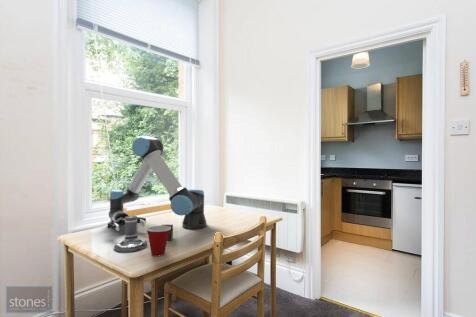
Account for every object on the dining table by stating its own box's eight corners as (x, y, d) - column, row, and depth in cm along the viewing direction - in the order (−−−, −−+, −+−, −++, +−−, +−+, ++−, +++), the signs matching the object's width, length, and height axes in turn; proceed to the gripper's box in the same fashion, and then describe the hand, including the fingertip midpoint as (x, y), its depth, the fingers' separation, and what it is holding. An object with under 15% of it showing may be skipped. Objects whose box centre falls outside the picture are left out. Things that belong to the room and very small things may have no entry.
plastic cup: (175, 250, 120) (175, 225, 120) (161, 259, 110) (161, 231, 110) (155, 247, 124) (156, 223, 124) (140, 256, 114) (140, 229, 114)
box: (161, 238, 139) (161, 224, 139) (173, 237, 139) (173, 224, 139) (159, 241, 133) (159, 227, 133) (171, 241, 133) (171, 227, 133)
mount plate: (151, 241, 133) (151, 237, 133) (140, 252, 118) (140, 248, 118) (122, 241, 133) (122, 237, 133) (107, 252, 118) (107, 247, 118)
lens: (139, 235, 143) (139, 215, 142) (134, 239, 136) (134, 218, 136) (127, 235, 143) (127, 215, 142) (122, 239, 136) (122, 218, 136)
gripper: (141, 221, 162) (154, 229, 146) (97, 228, 147) (106, 237, 130) (142, 209, 162) (154, 215, 146) (97, 214, 146) (106, 222, 130)
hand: (131, 226), depth 138 cm, fingers open, 13 cm apart
